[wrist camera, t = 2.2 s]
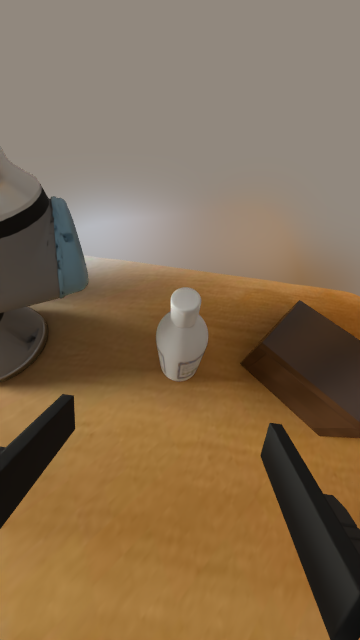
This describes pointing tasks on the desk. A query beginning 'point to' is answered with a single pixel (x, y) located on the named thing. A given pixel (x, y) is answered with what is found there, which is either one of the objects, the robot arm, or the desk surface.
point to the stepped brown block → (312, 370)
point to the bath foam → (182, 336)
